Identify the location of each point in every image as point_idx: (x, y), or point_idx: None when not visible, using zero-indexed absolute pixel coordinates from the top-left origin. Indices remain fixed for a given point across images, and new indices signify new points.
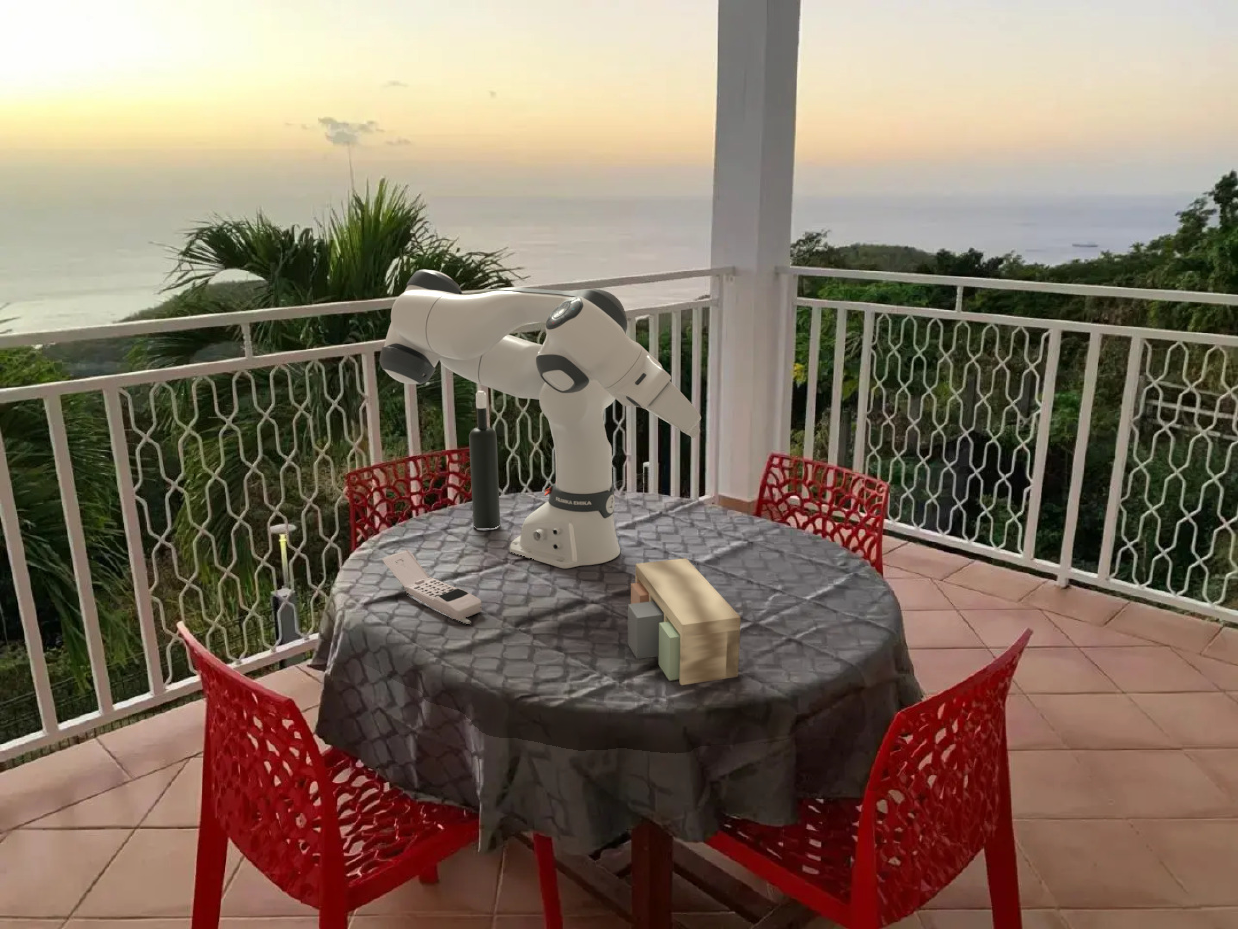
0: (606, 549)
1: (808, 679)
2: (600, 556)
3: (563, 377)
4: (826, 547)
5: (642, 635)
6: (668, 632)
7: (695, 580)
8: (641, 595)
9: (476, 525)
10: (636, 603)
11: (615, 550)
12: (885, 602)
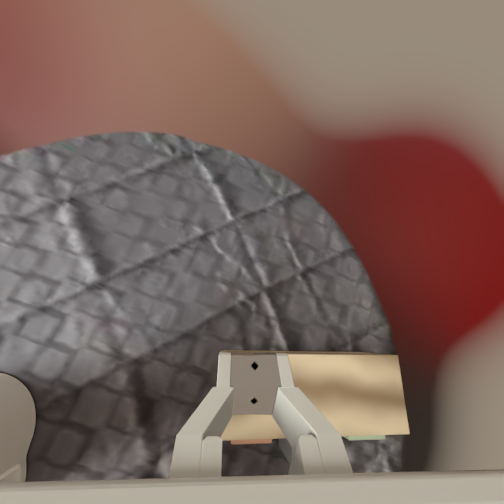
0: (17, 410)
1: (368, 293)
2: (26, 420)
3: None
4: (125, 139)
5: None
6: (372, 436)
7: (295, 369)
8: (271, 440)
9: None
10: (293, 455)
11: (15, 389)
12: (259, 164)
